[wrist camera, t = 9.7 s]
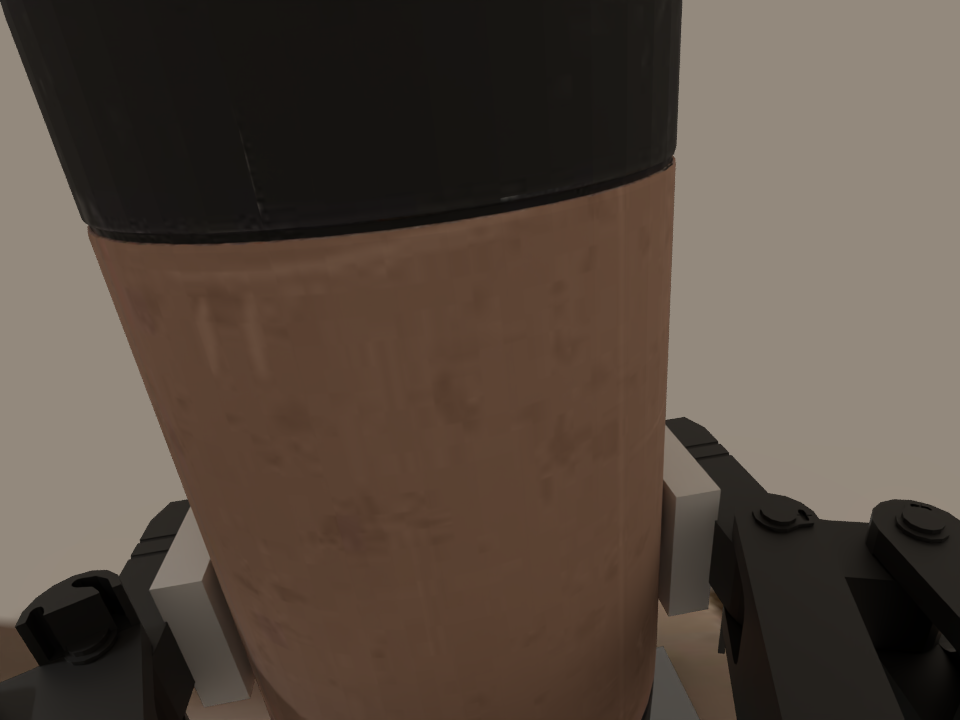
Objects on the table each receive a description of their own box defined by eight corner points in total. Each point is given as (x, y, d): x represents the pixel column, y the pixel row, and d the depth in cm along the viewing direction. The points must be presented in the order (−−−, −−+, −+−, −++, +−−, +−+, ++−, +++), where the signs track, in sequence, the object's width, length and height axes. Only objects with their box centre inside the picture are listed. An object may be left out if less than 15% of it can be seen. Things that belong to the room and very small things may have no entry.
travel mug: (334, 772, 18) (78, 28, 9) (553, 672, 20) (513, 4, 11) (394, 1162, 11) (-332, -207, 2) (711, 945, 13) (897, -153, 5)
